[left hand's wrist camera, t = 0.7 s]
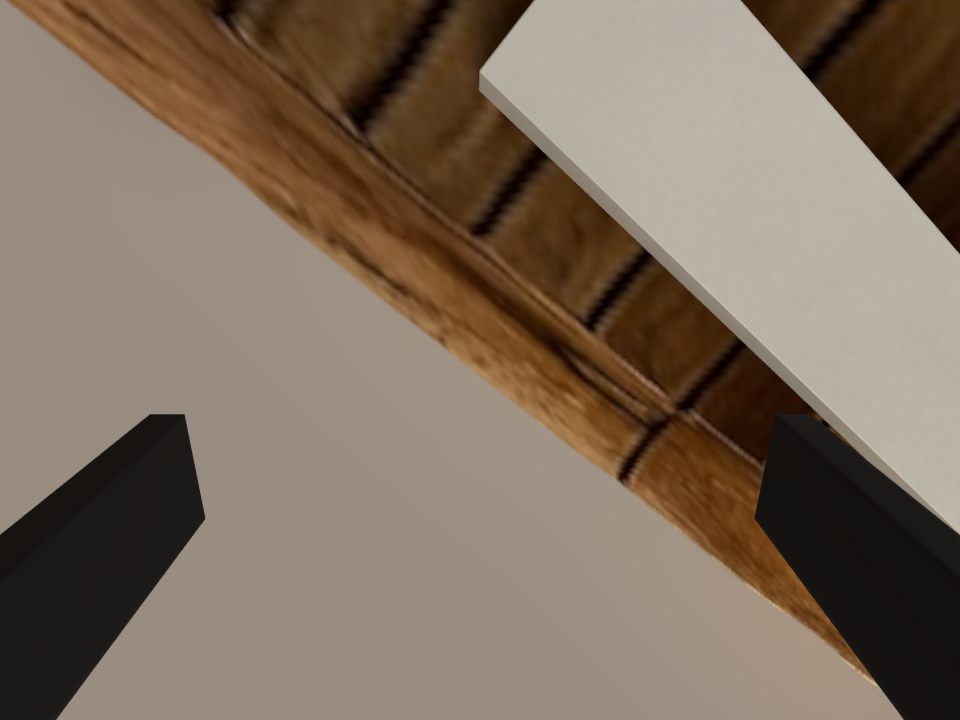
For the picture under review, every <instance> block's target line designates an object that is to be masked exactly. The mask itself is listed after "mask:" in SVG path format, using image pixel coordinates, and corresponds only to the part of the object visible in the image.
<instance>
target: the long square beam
mask: <svg viewBox="0 0 960 720" xmlns="http://www.w3.org/2000/svg"><path fill="white" fill-rule="evenodd" d="M479 91H480V92H481V93H482V94H483V95H484V96H485V97H486V98H488V99H489V100H490V101H491V102H492V103H493V104H494V105H495V106H496V107H497V108H498V109H499V110H500V111H501V112H502V113H503V114H504V115H505V116H506V117H507V118H508V119H510V120H511V121H512V122H513V123H514V124H515V125H516V126H517V127H518V128H519V129H520V130H521V131H522V132H523V133H524V134H525V135H526V136H527V137H528V138H529V139H531V140H532V141H533V142H534V143H535V144H536V145H537V146H538V147H539V148H540V149H541V150H542V151H543V152H544V153H545V154H546V155H547V156H548V157H549V158H550V159H552V160H553V161H554V162H555V163H556V164H557V165H558V166H559V167H560V168H561V169H562V170H563V171H564V172H565V173H566V174H567V175H568V176H569V177H570V178H571V179H573V180H574V181H575V182H576V183H577V184H578V185H579V186H580V187H581V188H582V189H583V190H584V191H585V192H586V193H587V194H588V195H589V196H590V197H591V198H592V199H594V200H595V201H596V202H597V203H598V204H599V205H600V206H601V207H602V208H603V209H604V210H605V211H606V212H607V213H608V214H609V215H610V216H611V217H612V218H613V219H615V220H616V221H617V222H618V223H619V224H620V225H621V226H622V227H623V228H624V229H625V230H626V231H627V232H628V233H629V234H630V235H631V236H632V237H633V238H634V239H636V240H637V241H638V242H639V243H640V244H641V245H642V246H643V247H644V248H645V249H646V250H647V251H648V252H649V253H650V254H651V255H652V256H653V257H654V258H655V259H657V260H658V261H659V262H660V263H661V264H662V265H663V266H664V267H665V268H666V269H667V270H668V271H669V272H670V273H671V274H672V275H673V276H674V277H675V278H676V279H678V280H679V281H680V282H681V283H682V284H683V285H684V286H685V287H686V288H687V289H688V290H689V291H690V292H691V293H692V294H693V295H694V296H695V297H696V298H697V299H699V300H700V301H701V302H702V303H703V304H704V305H705V306H706V307H707V308H708V309H709V310H710V311H711V312H712V313H713V314H714V315H715V316H716V317H717V318H718V319H720V320H721V321H722V322H723V323H724V324H725V325H726V326H727V327H728V328H729V329H730V330H731V331H732V332H733V333H734V334H735V335H736V336H737V337H738V338H739V339H741V340H742V341H743V342H744V343H745V344H746V345H747V346H748V347H749V348H750V349H751V350H752V351H753V352H754V353H755V354H756V355H757V356H758V357H759V358H760V359H762V360H763V361H764V362H765V363H766V364H767V365H768V366H769V367H770V368H771V369H772V370H773V371H774V372H775V373H776V374H777V375H778V376H779V377H780V378H781V379H783V380H784V381H785V382H786V383H787V384H788V385H789V386H790V387H791V388H792V389H793V390H794V391H795V392H796V393H797V394H798V395H799V396H800V397H801V398H802V399H803V400H805V401H806V402H807V403H808V404H809V405H810V406H811V407H812V408H813V409H814V410H815V411H816V412H817V413H818V414H819V415H820V416H821V417H822V418H823V419H824V420H826V421H827V422H828V423H829V424H830V425H831V426H832V427H833V428H834V429H835V430H836V431H837V432H838V433H839V434H840V435H841V436H842V437H843V438H844V439H845V440H847V441H848V442H849V443H850V444H851V445H852V446H853V447H854V448H855V449H856V450H857V451H858V452H859V453H860V454H861V455H862V456H863V457H864V458H865V459H866V460H868V461H869V462H870V463H871V464H872V465H874V466H875V467H876V468H877V469H879V470H880V471H881V472H882V473H884V474H885V475H886V476H887V477H888V478H890V479H891V480H892V481H893V482H895V483H896V484H897V485H898V486H900V487H901V488H902V489H903V490H905V491H906V492H907V493H908V494H910V495H911V496H912V497H913V498H915V499H916V500H917V501H918V502H920V503H921V504H922V505H923V506H925V507H926V508H927V509H928V510H930V511H931V512H932V513H933V514H935V515H936V516H937V517H938V518H939V519H941V520H942V521H943V522H944V523H946V524H947V525H948V526H949V527H951V528H952V529H953V530H954V531H956V532H957V533H958V534H959V535H960V254H959V253H958V252H957V251H956V249H955V248H954V247H953V246H952V245H951V244H950V242H949V241H948V240H947V239H946V238H945V237H944V236H943V234H942V233H941V232H940V231H939V230H938V229H937V227H936V226H935V225H934V224H933V223H932V222H931V220H930V219H929V218H928V217H927V216H926V215H925V214H924V212H923V211H922V210H921V209H920V208H919V207H918V205H917V204H916V203H915V202H914V201H913V200H912V198H911V197H910V196H909V195H908V194H907V193H906V191H905V190H904V189H903V188H902V187H901V186H900V185H899V183H898V182H897V181H896V180H895V179H894V178H893V176H892V175H891V174H890V173H889V172H888V171H887V169H886V168H885V167H884V166H883V165H882V164H881V162H880V161H879V160H878V159H877V158H876V157H875V156H874V154H873V153H872V152H871V151H870V150H869V149H868V147H867V146H866V145H865V144H864V143H863V142H862V140H861V139H860V138H859V137H858V136H857V135H856V133H855V132H854V131H853V130H852V129H851V128H850V127H849V125H848V124H847V123H846V122H845V121H844V120H843V118H842V117H841V116H840V115H839V114H838V113H837V111H836V110H835V109H834V108H833V107H832V106H831V104H830V103H829V102H828V101H827V100H826V99H825V98H824V96H823V95H822V94H821V93H820V92H819V91H818V89H817V88H816V87H815V86H814V85H813V84H812V82H811V81H810V80H809V79H808V78H807V77H806V75H805V74H804V73H803V72H802V71H801V70H800V69H799V67H798V66H797V65H796V64H795V63H794V62H793V60H792V59H791V58H790V57H789V56H788V55H787V53H786V52H785V51H784V50H783V49H782V48H781V46H780V45H779V44H778V43H777V42H776V41H775V40H774V38H773V37H772V36H771V35H770V34H769V33H768V31H767V30H766V29H765V28H764V27H763V26H762V24H761V23H760V22H759V21H758V20H757V19H756V17H755V16H754V15H753V14H752V13H751V12H750V11H749V9H748V8H747V7H746V6H745V5H744V4H743V2H742V1H741V0H534V1H533V2H532V3H531V4H530V6H529V7H528V8H527V10H526V11H525V12H524V13H523V15H522V16H521V17H520V19H519V20H518V21H517V22H516V24H515V25H514V26H513V28H512V29H511V30H510V32H509V33H508V34H507V35H506V37H505V38H504V39H503V41H502V42H501V43H500V44H499V46H498V47H497V48H496V50H495V51H494V52H493V53H492V55H491V56H490V57H489V59H488V60H487V61H486V62H485V64H484V65H483V66H482V68H481V69H480V71H479Z"/></svg>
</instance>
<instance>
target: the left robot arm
mask: <svg viewBox="0 0 960 720" xmlns="http://www.w3.org/2000/svg"><path fill="white" fill-rule="evenodd" d="M204 520H205V514H204V509H203V505H202V499H201V494H200V489H199V484H198V479H197V474H196V469H195V464H194V459H193V455H192V450H191V444H190V439H189V434H188V429H187V424H186V419H185V415H184V414H150V415H149V416H147V417H146V418H145V419H144V420H142V421H141V422H140V423H139V424H137V425H136V426H135V427H134V428H132V429H131V430H130V431H129V432H127V433H126V434H125V435H124V436H122V437H121V438H120V439H119V440H118V441H116V442H115V443H114V444H113V445H111V446H110V447H109V448H108V449H106V450H105V451H104V452H103V453H101V454H100V455H99V456H98V457H96V458H95V459H94V460H93V461H91V462H90V463H89V464H88V465H86V466H85V467H84V468H83V469H81V470H80V471H79V472H78V473H77V474H75V475H74V476H73V477H72V478H70V479H69V480H68V481H67V482H65V483H64V484H63V485H62V486H60V487H59V488H58V489H57V490H55V491H54V492H53V493H52V494H50V495H49V496H48V497H47V498H45V499H44V500H43V501H42V502H40V503H39V504H38V505H37V506H35V507H34V508H33V509H32V510H30V511H29V512H28V513H27V514H25V515H24V516H23V517H22V518H21V519H19V520H18V521H17V522H16V523H14V524H13V525H12V526H11V527H9V528H8V529H7V530H6V531H4V532H3V533H2V534H1V535H0V720H56V719H57V718H58V716H59V715H60V714H61V712H62V711H63V710H64V708H65V707H66V706H67V704H68V703H69V702H70V700H71V699H72V698H73V696H74V695H75V694H76V692H77V691H78V689H79V688H80V687H81V685H82V684H83V683H84V681H85V680H86V679H87V677H88V676H89V675H90V673H91V672H92V671H93V669H94V668H95V667H96V665H97V664H98V663H99V661H100V660H101V659H102V657H103V656H104V654H105V653H106V652H107V650H108V649H109V648H110V646H111V645H112V644H113V642H114V641H115V640H116V638H117V637H118V636H119V634H120V633H121V632H122V630H123V629H124V628H125V626H126V625H127V623H128V622H129V621H130V619H131V618H132V617H133V615H134V614H135V613H136V611H137V610H138V609H139V607H140V606H141V605H142V603H143V602H144V601H145V599H146V598H147V597H148V595H149V594H150V593H151V591H152V590H153V589H154V587H155V586H156V584H157V583H158V582H159V580H160V579H161V578H162V576H163V575H164V574H165V572H166V571H167V570H168V568H169V567H170V566H171V564H172V563H173V562H174V560H175V559H176V558H177V556H178V555H179V553H180V552H181V551H182V549H183V548H184V547H185V545H186V544H187V543H188V541H189V540H190V539H191V537H192V536H193V535H194V533H195V532H196V531H197V529H198V528H199V527H200V525H201V524H202V523H203V521H204ZM755 520H756V521H757V523H758V524H759V525H760V527H761V528H762V529H763V531H764V532H765V533H766V535H767V536H768V537H769V539H770V540H771V541H772V543H773V544H774V545H775V547H776V548H777V549H778V551H779V552H780V554H781V555H782V556H783V558H784V559H785V560H786V562H787V563H788V564H789V566H790V567H791V568H792V570H793V571H794V572H795V574H796V575H797V576H798V578H799V579H800V580H801V582H802V583H803V584H804V586H805V587H806V589H807V590H808V591H809V593H810V594H811V595H812V597H813V598H814V599H815V601H816V602H817V603H818V605H819V606H820V607H821V609H822V610H823V611H824V613H825V614H826V615H827V617H828V618H829V619H830V621H831V622H832V624H833V625H834V626H835V628H836V629H837V630H838V632H839V633H840V634H841V636H842V637H843V638H844V640H845V641H846V642H847V644H848V645H849V646H850V648H851V649H852V650H853V652H854V653H855V654H856V656H857V657H858V659H859V660H860V661H861V663H862V664H863V665H864V667H865V668H866V669H867V671H868V672H869V673H870V675H871V676H872V677H873V679H874V680H875V681H876V683H877V684H878V685H879V687H880V688H881V689H882V691H883V692H884V694H885V695H886V696H887V698H888V699H889V700H890V702H891V703H892V704H893V706H894V707H895V708H896V710H897V711H898V712H899V714H900V715H901V716H902V718H903V719H904V720H960V535H959V534H958V533H957V532H956V531H954V530H953V529H952V528H951V527H949V526H948V525H947V524H946V523H944V522H943V521H942V520H941V519H939V518H938V517H937V516H936V515H935V514H933V513H932V512H931V511H930V510H928V509H927V508H926V507H925V506H923V505H922V504H921V503H920V502H918V501H917V500H916V499H915V498H913V497H912V496H911V495H910V494H908V493H907V492H906V491H905V490H903V489H902V488H901V487H900V486H898V485H897V484H896V483H895V482H893V481H892V480H891V479H890V478H888V477H887V476H886V475H885V474H884V473H882V472H881V471H880V470H879V469H877V468H876V467H875V466H874V465H872V464H871V463H870V462H869V461H867V460H866V459H865V458H864V457H862V456H861V455H860V454H859V453H857V452H856V451H855V450H854V449H852V448H851V447H850V446H849V445H847V444H846V443H845V442H844V441H842V440H841V439H840V438H839V437H838V436H836V435H835V434H834V433H833V432H831V431H830V430H829V429H828V428H826V427H825V426H824V425H823V424H821V423H820V422H819V421H818V420H816V419H815V418H814V417H813V416H811V415H810V414H775V419H774V424H773V429H772V434H771V439H770V444H769V449H768V454H767V459H766V464H765V469H764V474H763V479H762V484H761V489H760V494H759V499H758V504H757V509H756V514H755Z"/></svg>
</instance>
